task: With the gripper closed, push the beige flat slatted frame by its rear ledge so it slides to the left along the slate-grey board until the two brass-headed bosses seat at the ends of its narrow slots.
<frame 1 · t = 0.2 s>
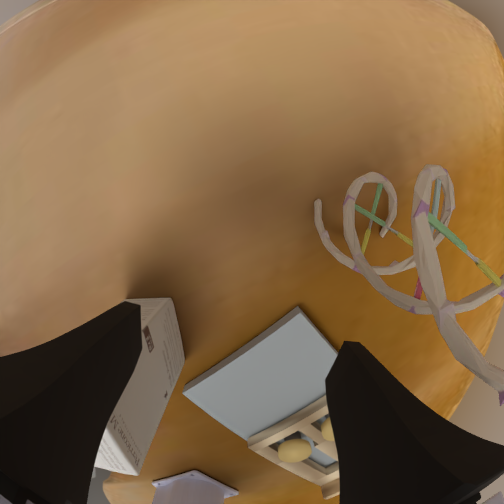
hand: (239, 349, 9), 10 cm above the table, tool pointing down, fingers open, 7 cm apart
dna model: (350, 218, 19), on the table
beige flat slatted frame: (337, 452, 20), point 3 cm above the table, slide at 0.0 cm
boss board: (315, 420, 22), on the table
skincare box: (154, 328, 20), on the table
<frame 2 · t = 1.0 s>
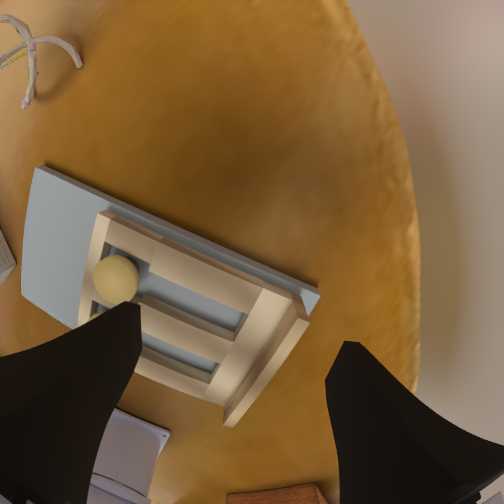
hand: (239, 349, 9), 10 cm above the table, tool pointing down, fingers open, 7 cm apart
dna model: (57, 77, 14), on the table
beige flat slatted frame: (168, 333, 17), point 3 cm above the table, slide at 0.0 cm
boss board: (139, 293, 19), on the table
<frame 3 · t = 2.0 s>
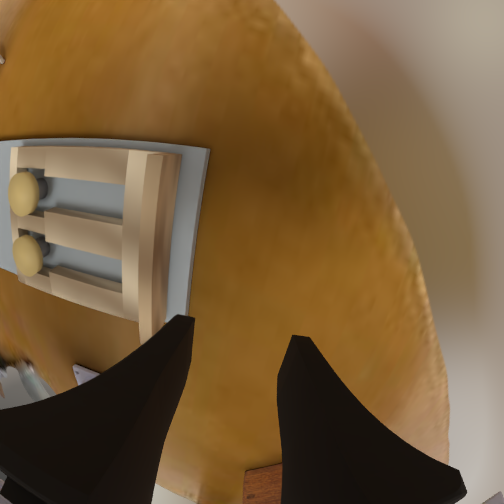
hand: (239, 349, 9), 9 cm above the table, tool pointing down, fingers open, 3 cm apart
wooden box: (331, 480, 33), on the table
beige flat slatted frame: (66, 234, 14), point 3 cm above the table, slide at 0.0 cm
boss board: (59, 215, 17), on the table
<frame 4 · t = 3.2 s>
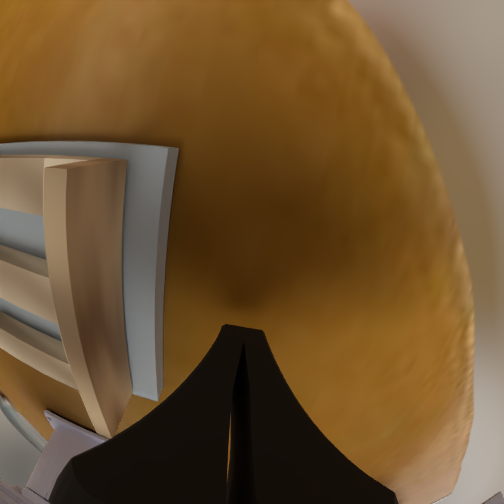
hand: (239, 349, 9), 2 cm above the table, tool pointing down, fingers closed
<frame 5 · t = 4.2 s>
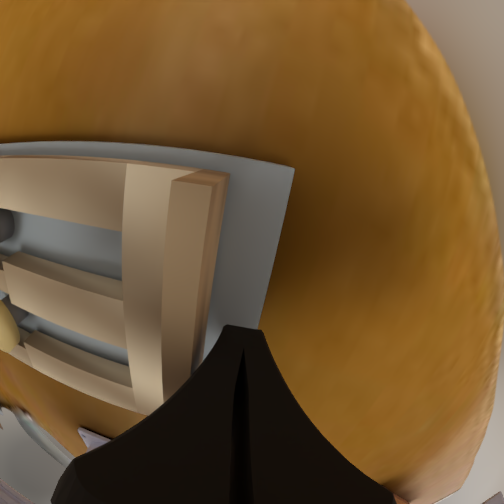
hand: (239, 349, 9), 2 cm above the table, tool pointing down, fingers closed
beige flat slatted frame: (35, 302, 8), point 3 cm above the table, slide at 0.6 cm, touching gripper
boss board: (36, 260, 11), on the table
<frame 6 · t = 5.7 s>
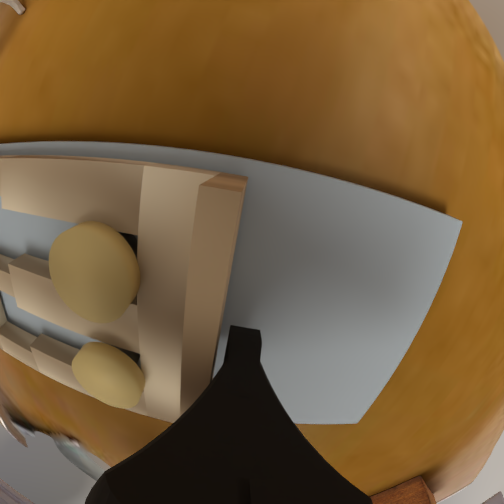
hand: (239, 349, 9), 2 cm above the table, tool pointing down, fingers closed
wooden box: (392, 500, 27), on the table
beige flat slatted frame: (43, 306, 8), point 3 cm above the table, slide at 7.1 cm, touching gripper
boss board: (154, 293, 11), on the table
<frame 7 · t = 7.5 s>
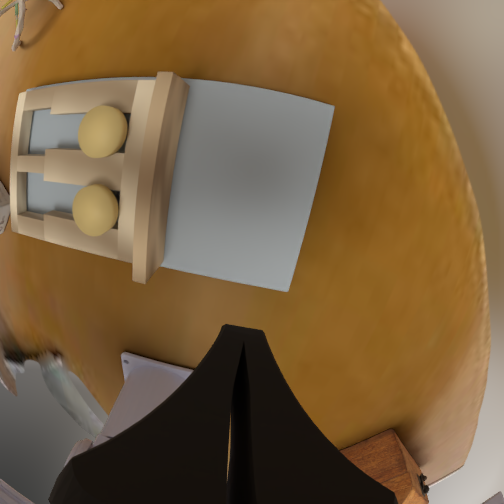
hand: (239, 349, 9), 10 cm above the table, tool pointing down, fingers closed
wooden box: (373, 467, 32), on the table
dna model: (41, 25, 11), on the table
beige flat slatted frame: (65, 167, 13), point 3 cm above the table, slide at 7.0 cm
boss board: (135, 167, 16), on the table
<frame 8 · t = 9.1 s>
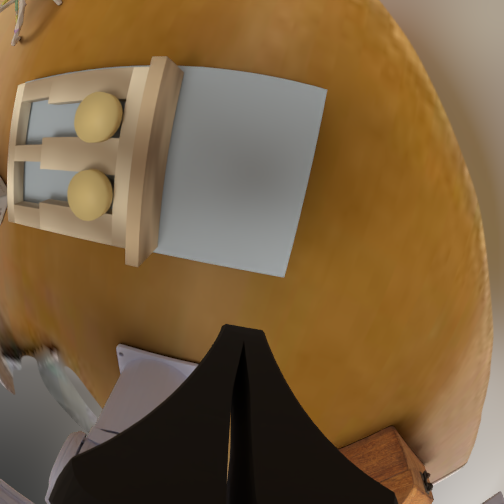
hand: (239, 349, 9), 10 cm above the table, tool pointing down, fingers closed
wooden box: (375, 465, 32), on the table
dna model: (40, 21, 11), on the table
beige flat slatted frame: (62, 154, 13), point 3 cm above the table, slide at 7.0 cm
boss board: (130, 154, 16), on the table
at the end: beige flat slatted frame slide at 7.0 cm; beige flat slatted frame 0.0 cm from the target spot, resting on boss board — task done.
